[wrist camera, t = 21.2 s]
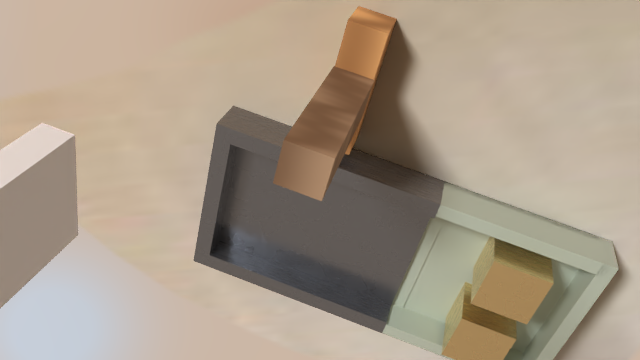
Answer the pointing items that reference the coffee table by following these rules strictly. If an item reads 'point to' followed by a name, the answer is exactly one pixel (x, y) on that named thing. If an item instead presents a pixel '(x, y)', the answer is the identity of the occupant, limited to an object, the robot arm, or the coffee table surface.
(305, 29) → the coffee table surface
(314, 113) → the bent wooden stick
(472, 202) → the tray
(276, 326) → the coffee table surface
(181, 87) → the coffee table surface
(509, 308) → the light brown cube
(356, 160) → the dark grey shallow tray
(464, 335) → the tan cube
